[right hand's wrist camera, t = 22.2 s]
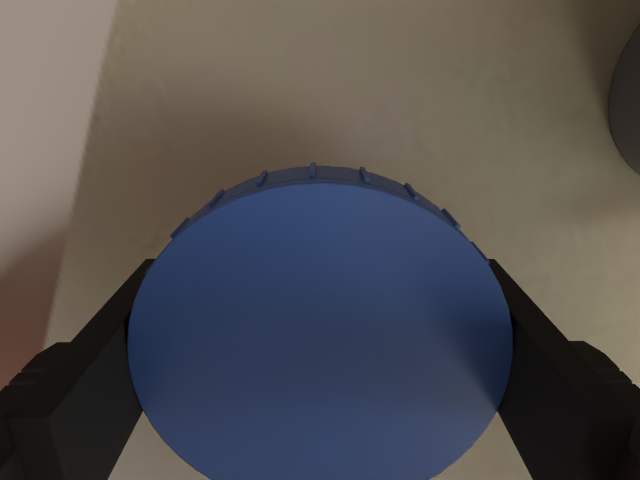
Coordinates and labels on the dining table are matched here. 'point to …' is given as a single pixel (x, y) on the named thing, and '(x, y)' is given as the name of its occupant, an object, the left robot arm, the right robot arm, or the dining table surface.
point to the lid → (320, 332)
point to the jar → (627, 103)
